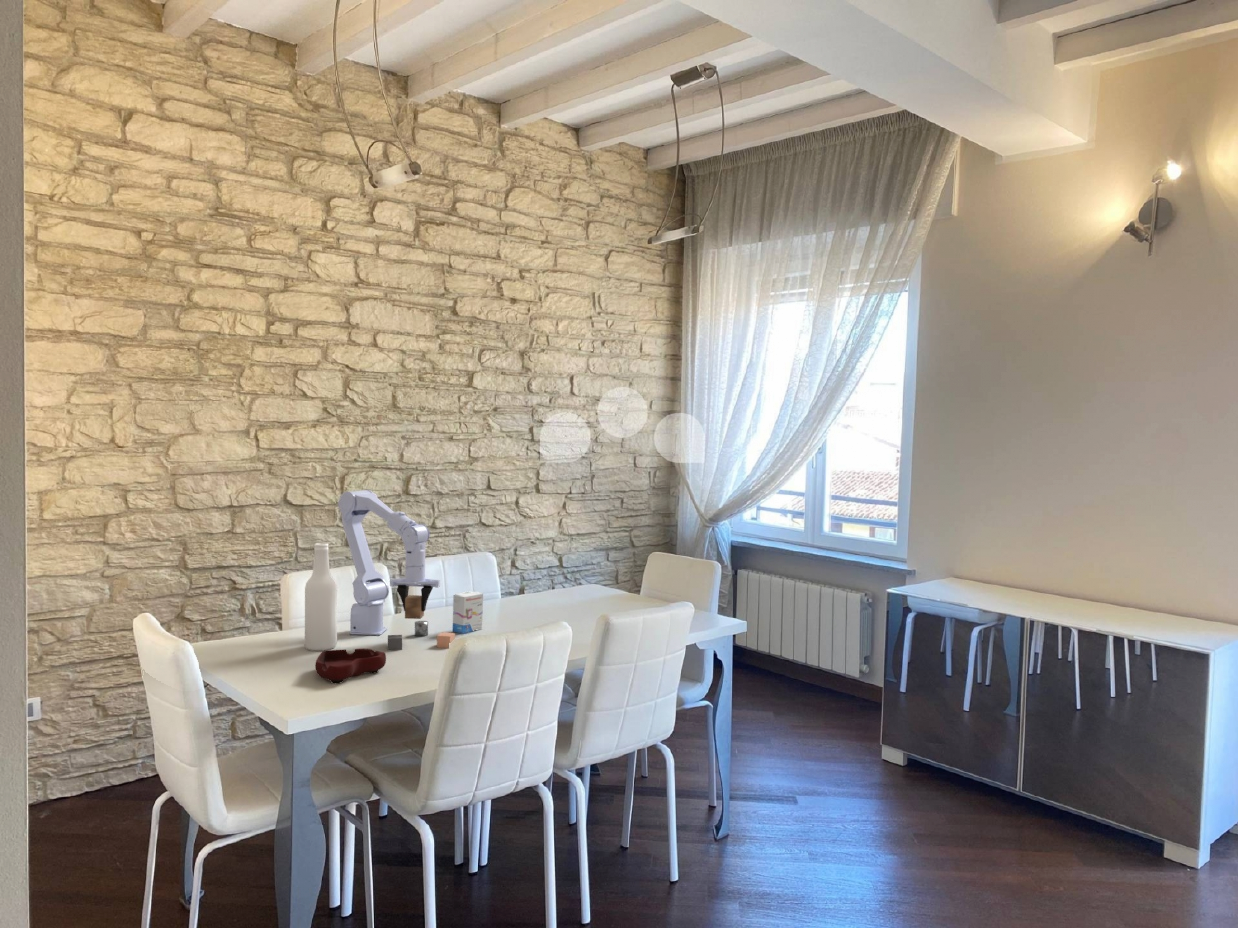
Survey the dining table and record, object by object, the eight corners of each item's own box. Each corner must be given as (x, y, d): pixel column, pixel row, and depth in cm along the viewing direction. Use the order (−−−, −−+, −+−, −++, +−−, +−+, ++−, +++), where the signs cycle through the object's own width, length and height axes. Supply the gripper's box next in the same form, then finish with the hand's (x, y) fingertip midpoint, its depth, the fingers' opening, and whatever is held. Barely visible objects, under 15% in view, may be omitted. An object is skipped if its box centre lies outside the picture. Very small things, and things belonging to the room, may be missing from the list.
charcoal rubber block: (387, 650, 253) (387, 638, 253) (387, 647, 257) (387, 635, 257) (402, 650, 254) (402, 638, 254) (401, 646, 258) (402, 634, 258)
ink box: (463, 634, 274) (463, 596, 273) (451, 631, 277) (452, 594, 276) (483, 629, 281) (483, 592, 280) (472, 626, 284) (472, 590, 283)
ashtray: (350, 661, 242) (350, 643, 242) (391, 671, 233) (392, 653, 233) (294, 676, 227) (294, 657, 227) (336, 688, 218) (336, 668, 218)
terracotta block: (436, 647, 258) (437, 635, 258) (442, 644, 262) (442, 632, 262) (449, 648, 257) (450, 636, 257) (454, 644, 261) (455, 633, 261)
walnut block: (404, 618, 263) (405, 598, 262) (408, 614, 267) (409, 595, 267) (420, 618, 263) (420, 598, 262) (423, 615, 267) (424, 595, 267)
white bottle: (299, 650, 251) (300, 545, 249) (311, 643, 259) (311, 541, 258) (330, 651, 250) (331, 546, 249) (341, 643, 259) (341, 541, 258)
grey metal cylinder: (413, 636, 270) (413, 623, 270) (416, 633, 274) (416, 620, 274) (426, 636, 270) (426, 623, 270) (429, 633, 274) (429, 620, 274)
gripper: (387, 566, 260) (386, 612, 261) (436, 568, 260) (435, 614, 261) (393, 562, 267) (393, 607, 268) (441, 564, 267) (441, 608, 268)
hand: (414, 610), depth 265 cm, fingers closed on walnut block, 5 cm apart
